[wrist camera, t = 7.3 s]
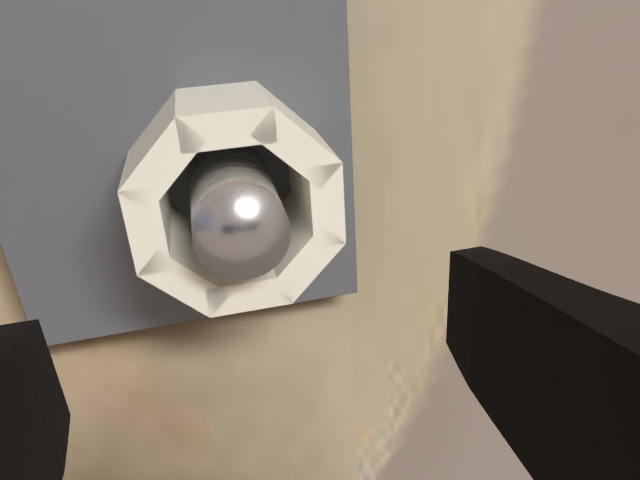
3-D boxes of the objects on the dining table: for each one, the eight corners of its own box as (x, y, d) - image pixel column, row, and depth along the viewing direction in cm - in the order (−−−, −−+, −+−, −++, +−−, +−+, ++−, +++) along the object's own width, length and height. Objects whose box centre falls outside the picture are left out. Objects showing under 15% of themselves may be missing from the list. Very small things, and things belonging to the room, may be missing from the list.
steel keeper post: (238, 225, 19) (255, 295, 15) (173, 187, 18) (172, 251, 14) (281, 166, 18) (310, 222, 14) (216, 123, 17) (228, 171, 13)
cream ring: (321, 242, 20) (348, 294, 16) (153, 268, 19) (149, 328, 16) (310, 74, 17) (340, 98, 14) (116, 94, 16) (101, 124, 13)
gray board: (348, 276, 22) (357, 292, 21) (44, 327, 20) (36, 347, 19) (314, -490, 13) (326, -530, 12) (-241, -528, 11) (-285, -579, 10)
